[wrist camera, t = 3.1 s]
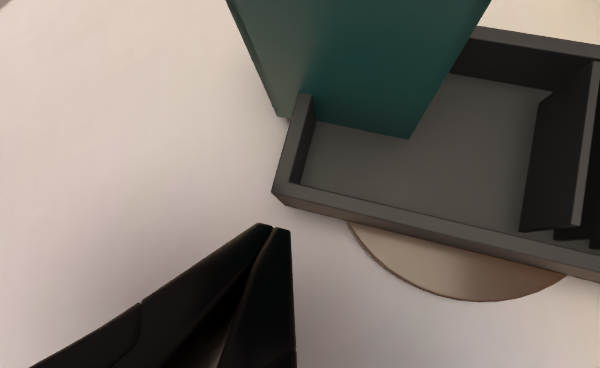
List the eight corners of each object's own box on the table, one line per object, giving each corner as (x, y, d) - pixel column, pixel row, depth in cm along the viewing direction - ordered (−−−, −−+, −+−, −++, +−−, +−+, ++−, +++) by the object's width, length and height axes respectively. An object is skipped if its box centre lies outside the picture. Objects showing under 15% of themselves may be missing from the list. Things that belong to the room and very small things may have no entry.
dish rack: (651, 296, 15) (1559, 410, 4) (254, 197, 18) (104, 94, 7) (670, 107, 17) (1383, -214, 5) (298, 41, 19) (238, -271, 8)
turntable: (603, 322, 17) (620, 326, 16) (315, 275, 18) (313, 276, 17) (604, 56, 19) (619, 45, 18) (348, 37, 20) (349, 26, 20)
